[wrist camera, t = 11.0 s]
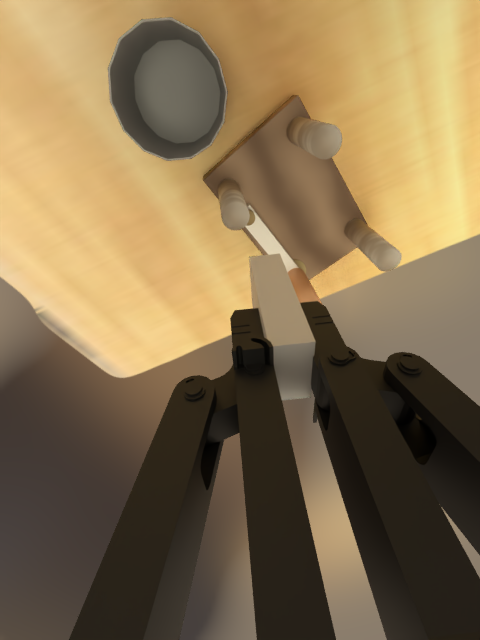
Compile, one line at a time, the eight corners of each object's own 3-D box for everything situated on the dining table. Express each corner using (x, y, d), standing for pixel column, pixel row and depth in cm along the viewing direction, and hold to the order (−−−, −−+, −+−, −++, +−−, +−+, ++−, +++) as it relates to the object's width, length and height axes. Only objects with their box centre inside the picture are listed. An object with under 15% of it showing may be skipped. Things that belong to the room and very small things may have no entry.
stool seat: (293, 95, 32) (328, 96, 23) (366, 230, 41) (412, 269, 32) (201, 178, 35) (200, 207, 26) (287, 285, 44) (308, 333, 36)
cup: (117, 57, 29) (83, 43, 21) (202, 22, 28) (202, -6, 20) (158, 155, 34) (143, 175, 26) (231, 129, 33) (240, 141, 25)
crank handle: (250, 201, 35) (264, 233, 27) (306, 273, 41) (331, 318, 33) (233, 215, 36) (242, 251, 28) (291, 284, 42) (312, 330, 34)
